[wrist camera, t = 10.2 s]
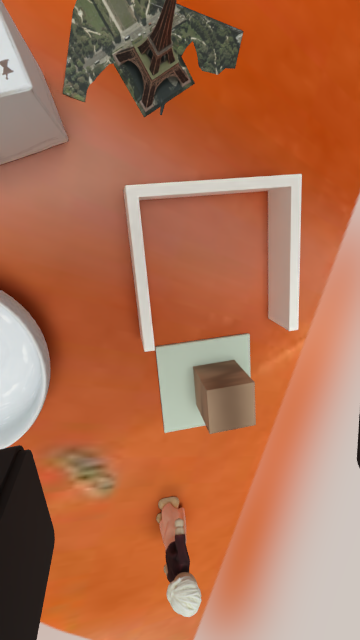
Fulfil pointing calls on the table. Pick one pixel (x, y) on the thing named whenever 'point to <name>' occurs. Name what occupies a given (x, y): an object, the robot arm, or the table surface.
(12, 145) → the skincare box
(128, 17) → the eiffel tower figurine
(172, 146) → the table surface
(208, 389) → the walnut block
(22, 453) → the robot arm
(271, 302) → the open side box
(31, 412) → the cereal bowl
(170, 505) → the grandmother figurine
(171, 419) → the sage mat
